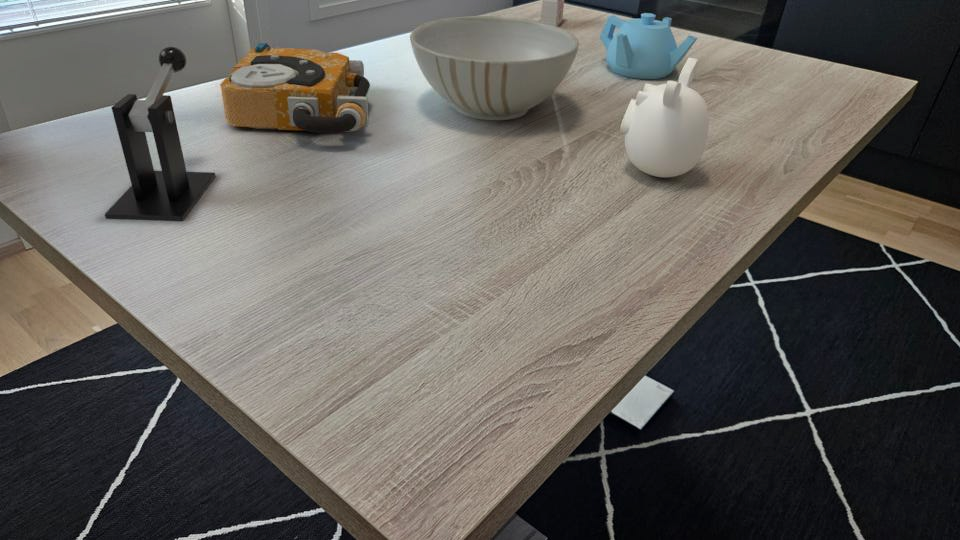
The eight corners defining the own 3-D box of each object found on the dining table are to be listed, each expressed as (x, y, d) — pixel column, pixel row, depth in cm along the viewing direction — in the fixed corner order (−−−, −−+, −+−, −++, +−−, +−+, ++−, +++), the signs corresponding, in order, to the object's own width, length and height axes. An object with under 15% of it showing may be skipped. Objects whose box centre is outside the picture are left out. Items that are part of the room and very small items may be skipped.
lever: (167, 62, 90) (159, 40, 88) (192, 63, 90) (185, 41, 88) (132, 134, 81) (122, 112, 79) (159, 135, 81) (150, 113, 79)
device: (384, 41, 121) (359, 100, 96) (386, 88, 125) (362, 156, 100) (252, 36, 120) (192, 94, 95) (258, 83, 125) (202, 151, 100)
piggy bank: (614, 151, 105) (629, 50, 97) (694, 159, 103) (716, 58, 95) (613, 188, 95) (630, 78, 86) (701, 197, 93) (727, 87, 85)
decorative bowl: (456, 152, 103) (457, 70, 96) (386, 95, 122) (384, 23, 115) (603, 125, 114) (613, 50, 107) (518, 76, 133) (522, 10, 127)
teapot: (666, 59, 147) (676, 5, 141) (690, 82, 134) (701, 24, 128) (594, 58, 145) (601, 4, 139) (612, 81, 133) (620, 23, 127)
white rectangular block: (540, 26, 165) (544, -19, 160) (547, 20, 171) (551, -24, 165) (555, 28, 164) (559, -17, 159) (562, 21, 170) (566, -22, 164)
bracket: (147, 178, 92) (124, 82, 85) (216, 180, 92) (198, 85, 85) (106, 223, 82) (76, 118, 75) (184, 225, 82) (160, 121, 75)
